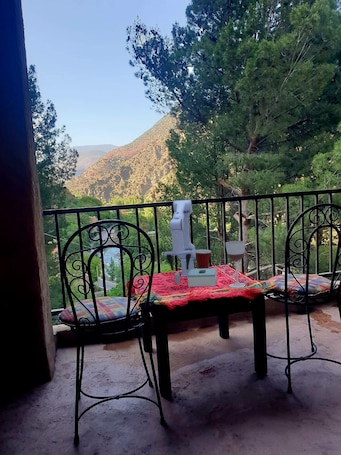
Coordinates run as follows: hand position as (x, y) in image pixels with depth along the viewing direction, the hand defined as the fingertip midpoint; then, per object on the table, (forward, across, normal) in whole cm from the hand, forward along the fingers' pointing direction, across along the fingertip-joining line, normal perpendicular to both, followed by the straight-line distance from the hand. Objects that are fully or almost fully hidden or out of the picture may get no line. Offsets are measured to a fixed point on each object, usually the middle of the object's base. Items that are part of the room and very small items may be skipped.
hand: (180, 269), depth 182 cm
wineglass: (+10, +28, +3) cm, 30 cm away
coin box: (+10, +10, +10) cm, 17 cm away
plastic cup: (+10, +8, +39) cm, 41 cm away
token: (+10, -4, +12) cm, 16 cm away
